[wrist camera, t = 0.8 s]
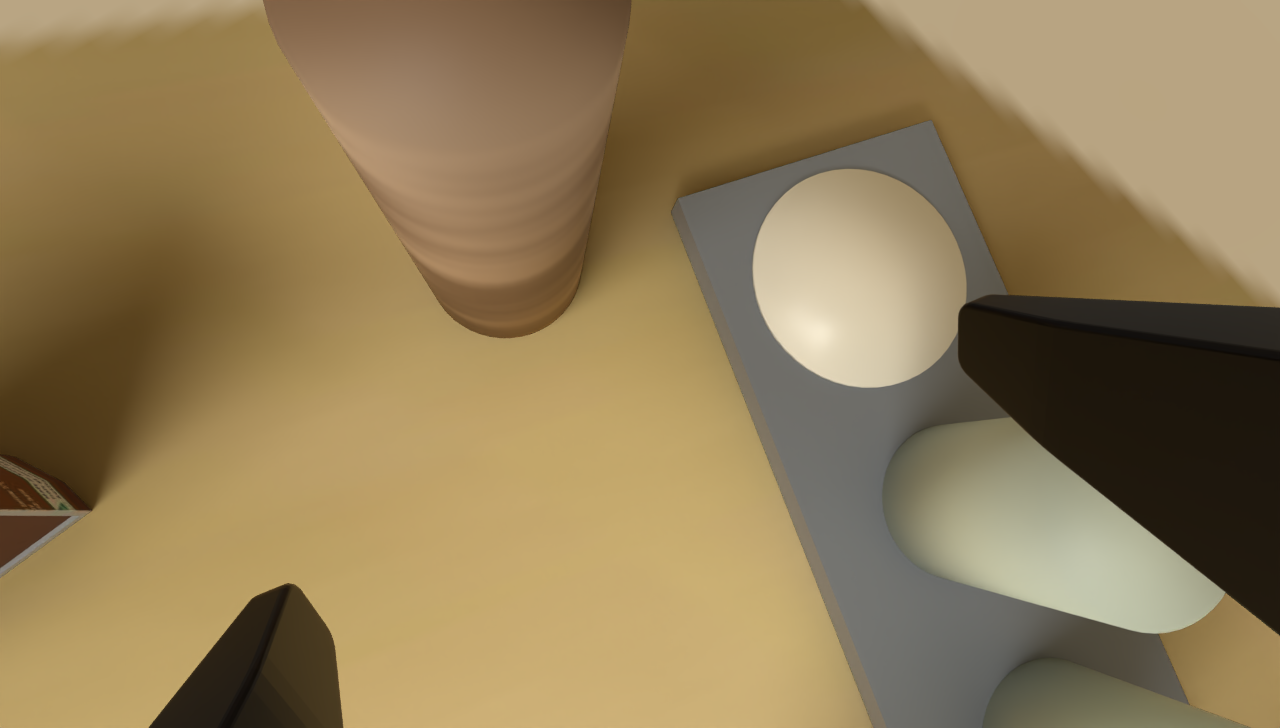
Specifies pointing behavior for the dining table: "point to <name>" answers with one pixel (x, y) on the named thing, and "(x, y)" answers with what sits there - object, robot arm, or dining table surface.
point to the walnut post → (471, 135)
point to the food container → (32, 510)
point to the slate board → (877, 410)
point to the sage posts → (1044, 566)
